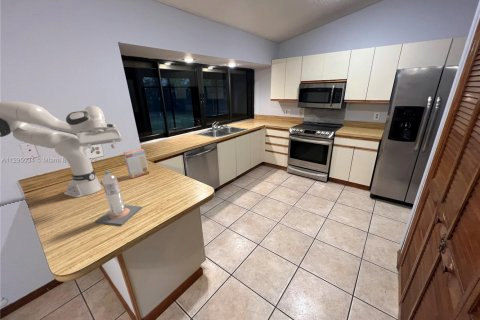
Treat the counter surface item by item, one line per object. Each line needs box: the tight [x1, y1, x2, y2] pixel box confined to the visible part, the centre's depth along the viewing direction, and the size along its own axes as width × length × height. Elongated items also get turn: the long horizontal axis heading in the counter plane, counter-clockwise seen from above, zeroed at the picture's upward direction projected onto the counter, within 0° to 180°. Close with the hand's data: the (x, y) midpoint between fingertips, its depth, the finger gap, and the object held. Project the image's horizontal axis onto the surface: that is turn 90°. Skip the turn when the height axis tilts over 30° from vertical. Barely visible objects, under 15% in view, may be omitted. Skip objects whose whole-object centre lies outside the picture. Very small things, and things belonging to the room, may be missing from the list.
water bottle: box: [101, 170, 126, 217], centre depth 104 cm, size 7×7×25 cm
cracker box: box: [123, 148, 150, 180], centre depth 158 cm, size 14×6×21 cm, turn 135°
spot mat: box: [94, 204, 143, 226], centre depth 109 cm, size 16×16×1 cm
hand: (103, 149), depth 110 cm, fingers open, 8 cm apart
